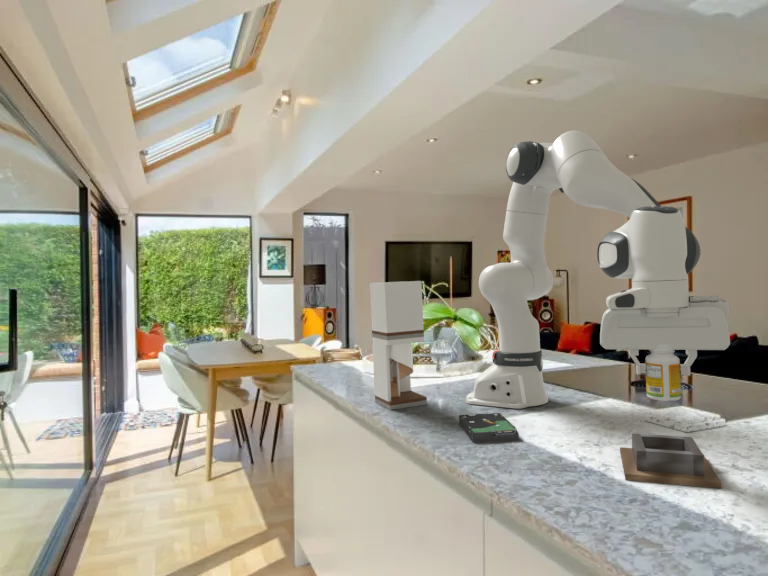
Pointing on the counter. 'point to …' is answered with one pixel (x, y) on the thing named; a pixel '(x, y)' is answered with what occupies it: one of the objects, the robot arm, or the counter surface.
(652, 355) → the supplement bottle
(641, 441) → the socket board
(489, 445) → the counter surface
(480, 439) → the disk drive
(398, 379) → the white tower
